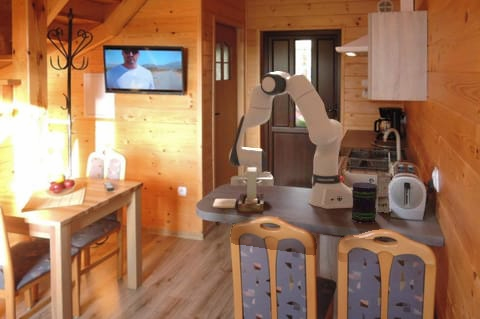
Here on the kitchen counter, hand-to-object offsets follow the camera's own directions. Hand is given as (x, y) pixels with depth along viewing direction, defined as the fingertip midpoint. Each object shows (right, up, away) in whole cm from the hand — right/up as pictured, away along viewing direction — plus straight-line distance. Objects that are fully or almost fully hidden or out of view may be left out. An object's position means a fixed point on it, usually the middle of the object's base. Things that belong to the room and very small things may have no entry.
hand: (251, 184), depth 226 cm
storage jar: (+46, -14, -22) cm, 53 cm away
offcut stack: (-1, -11, -6) cm, 12 cm away
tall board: (0, -9, +2) cm, 9 cm away
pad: (-13, -9, +3) cm, 16 cm away
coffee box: (+59, -11, -7) cm, 60 cm away
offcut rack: (0, -10, 0) cm, 10 cm away
